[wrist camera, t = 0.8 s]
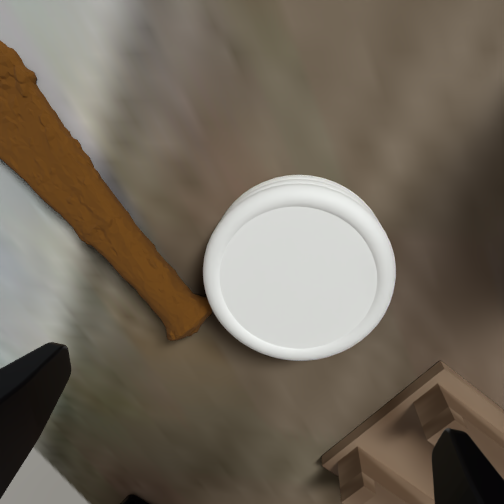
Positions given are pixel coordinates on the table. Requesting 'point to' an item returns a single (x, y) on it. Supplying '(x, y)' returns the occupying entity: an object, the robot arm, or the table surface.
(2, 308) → the table surface
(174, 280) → the primitive tool
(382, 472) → the tan two-rail tray
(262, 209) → the coaster
